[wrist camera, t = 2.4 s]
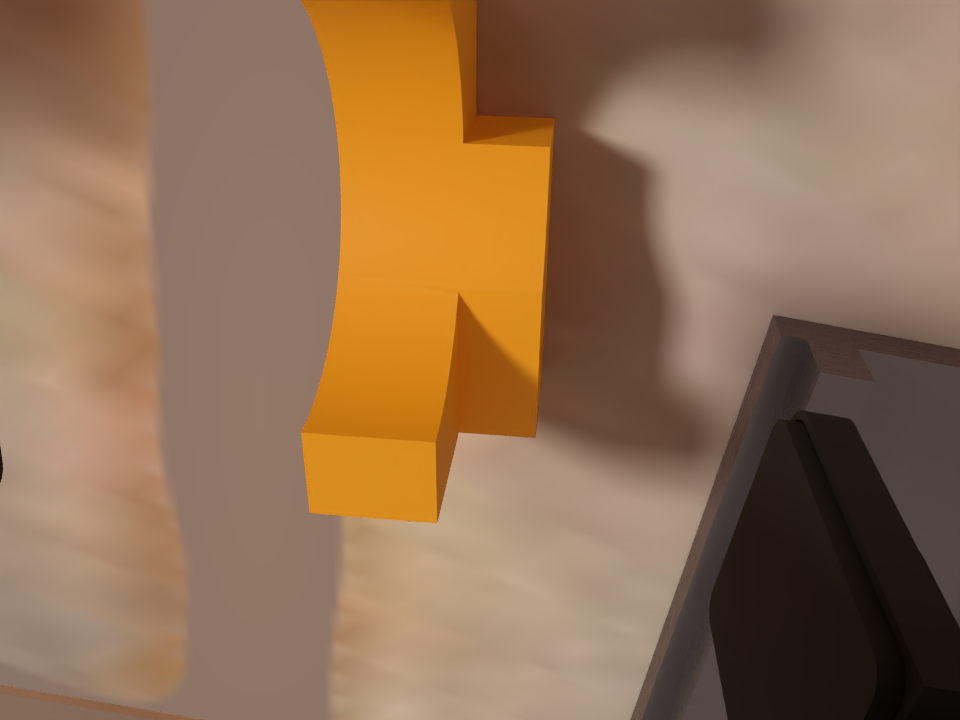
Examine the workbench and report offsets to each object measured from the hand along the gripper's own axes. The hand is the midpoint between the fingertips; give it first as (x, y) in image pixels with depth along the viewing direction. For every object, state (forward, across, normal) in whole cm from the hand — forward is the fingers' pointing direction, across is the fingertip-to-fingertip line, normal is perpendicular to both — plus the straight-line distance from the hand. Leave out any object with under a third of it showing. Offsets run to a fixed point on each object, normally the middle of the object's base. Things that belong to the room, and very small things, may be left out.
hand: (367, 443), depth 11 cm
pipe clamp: (+12, 0, -1) cm, 12 cm away
